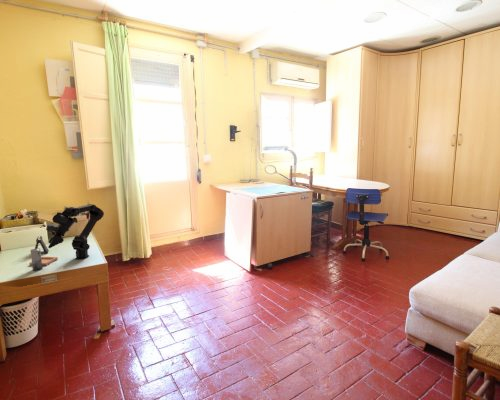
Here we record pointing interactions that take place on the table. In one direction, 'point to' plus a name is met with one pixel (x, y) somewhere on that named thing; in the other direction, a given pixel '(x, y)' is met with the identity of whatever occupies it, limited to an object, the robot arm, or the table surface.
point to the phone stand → (41, 245)
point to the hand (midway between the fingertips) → (48, 245)
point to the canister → (36, 259)
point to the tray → (46, 260)
